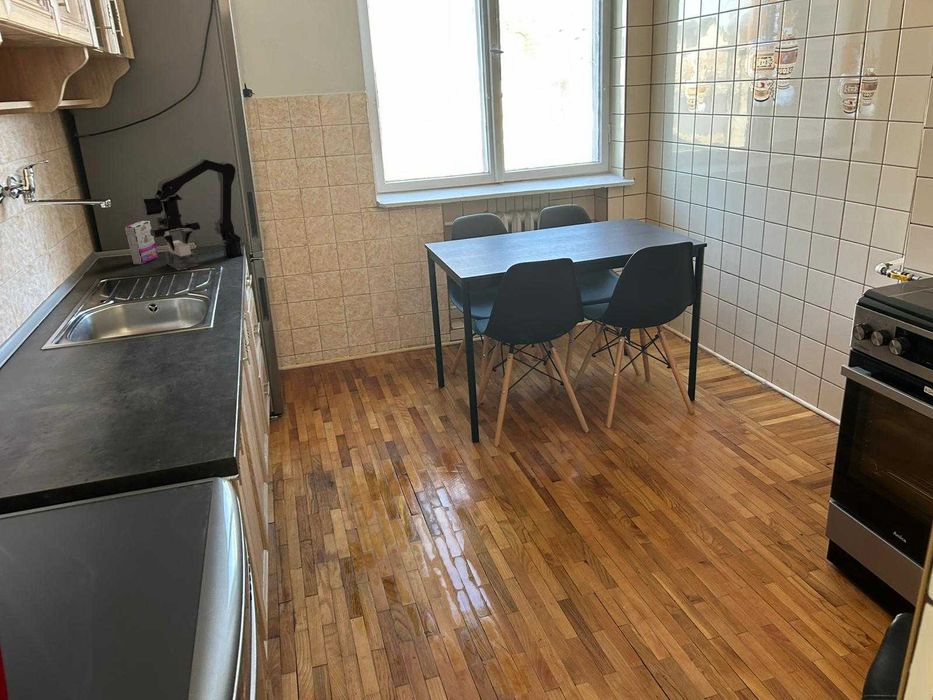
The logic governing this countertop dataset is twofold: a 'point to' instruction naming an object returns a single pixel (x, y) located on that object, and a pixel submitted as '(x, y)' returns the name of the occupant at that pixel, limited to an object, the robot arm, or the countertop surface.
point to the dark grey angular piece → (181, 260)
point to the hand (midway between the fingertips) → (179, 249)
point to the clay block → (180, 248)
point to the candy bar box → (141, 242)
